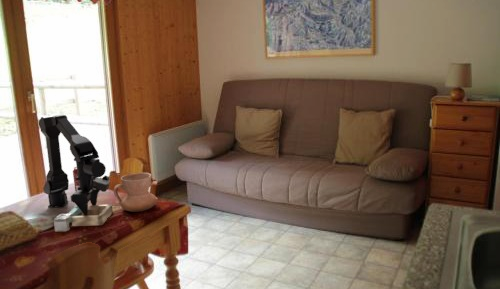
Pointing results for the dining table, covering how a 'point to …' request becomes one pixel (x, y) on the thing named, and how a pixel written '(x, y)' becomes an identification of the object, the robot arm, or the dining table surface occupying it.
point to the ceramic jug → (136, 192)
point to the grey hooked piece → (62, 222)
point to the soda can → (76, 182)
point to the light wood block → (92, 210)
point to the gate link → (74, 212)
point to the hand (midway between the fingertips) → (90, 210)
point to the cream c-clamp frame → (93, 217)
